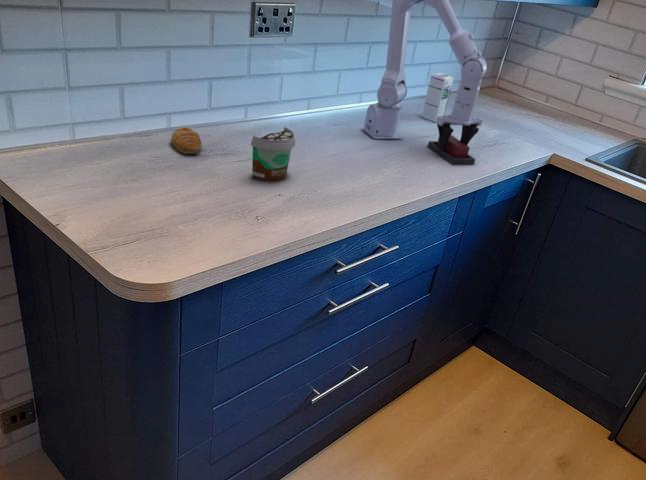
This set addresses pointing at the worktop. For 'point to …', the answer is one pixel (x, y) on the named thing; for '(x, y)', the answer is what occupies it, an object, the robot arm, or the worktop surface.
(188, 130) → the pastry
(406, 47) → the robot arm
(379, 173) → the worktop surface
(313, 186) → the worktop surface
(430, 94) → the syrup box
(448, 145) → the dark red block
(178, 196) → the worktop surface
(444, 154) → the cradle
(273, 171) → the food container
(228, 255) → the worktop surface
